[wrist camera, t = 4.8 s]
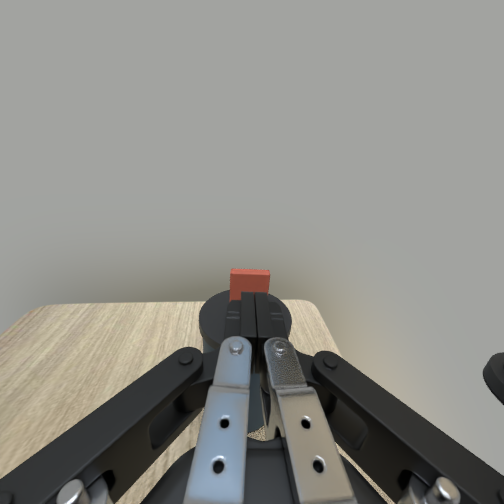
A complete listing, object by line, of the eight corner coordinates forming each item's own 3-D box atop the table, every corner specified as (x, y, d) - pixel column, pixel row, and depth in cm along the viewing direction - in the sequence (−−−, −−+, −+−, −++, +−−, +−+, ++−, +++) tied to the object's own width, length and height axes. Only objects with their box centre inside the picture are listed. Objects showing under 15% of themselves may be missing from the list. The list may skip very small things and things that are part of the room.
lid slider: (267, 335, 20) (274, 274, 17) (225, 334, 20) (226, 273, 17) (263, 306, 24) (269, 253, 21) (228, 305, 23) (229, 251, 21)
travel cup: (283, 437, 24) (301, 350, 19) (195, 437, 23) (189, 347, 18) (273, 363, 32) (283, 289, 27) (207, 362, 32) (206, 286, 27)
